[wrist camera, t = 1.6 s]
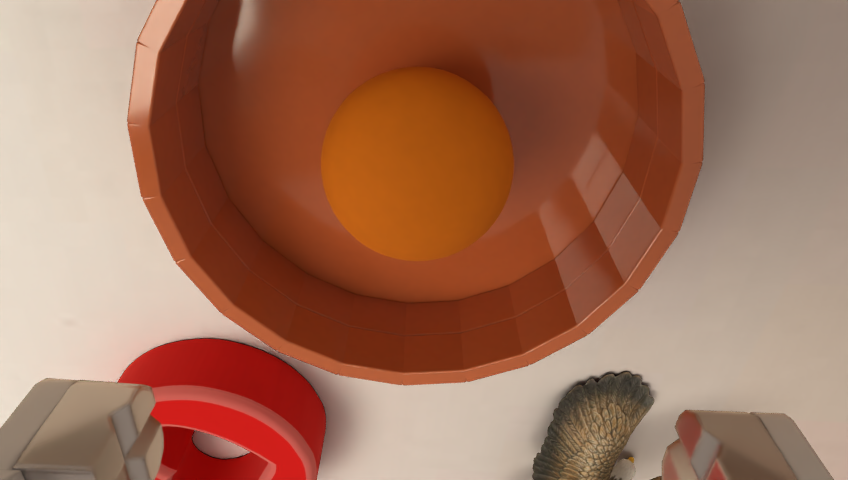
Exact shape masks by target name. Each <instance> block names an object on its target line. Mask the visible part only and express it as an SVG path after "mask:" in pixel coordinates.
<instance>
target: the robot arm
mask: <svg viewBox="0 0 848 480" xmlns="http://www.w3.org/2000/svg"><path fill="white" fill-rule="evenodd" d="M155 404H156V401H155V397H154V394H153V390H152V387H150V386H147V385H144V384H130V383H116V382H103V381H89V380H67V379H53V378H46V379H44V380H42V381H40V382H39V383H37V384H35V385H34V387H33V388H32V389H31V390H30V392H29V393H28V394H27V395H26V397H25V398H24V399H23V400H22V402H21V403H20V404H19V405H18V407H17V408H16V409H15V411H14V412H13V413H12V414H11V416H10V417H9V418H8V419H7V421H6V422H5V423H4V424H3V426H2V427H1V428H0V480H155V478H156V475H157V473H158V471H159V468H160V464H161V459H162V455H163V450H164V435H163V430H162V425H161V423H160V422H159V421H158V420H156V419H155V418H154V417H153V416H152V415H151V414H150V413H151V412H152V410H153V408H154V406H155ZM675 429H676V431H677V434H678V436H679V439H677V440H676V441H675V442H673V443H672V444H670V445H669V446H668V447H667V448H666V451H665V454H664V457H663V460H662V480H834V479H833V478H832V476H831V475H830V473H829V472H828V470H827V469H826V467H825V466H824V464H823V463H822V462H821V460H820V459H819V457H818V456H817V454H816V453H815V451H814V450H813V448H812V447H811V445H810V444H809V443H808V441H807V440H806V438H805V437H804V435H803V434H802V432H801V431H800V429H799V428H798V426H797V425H796V423H795V422H794V421H793V420H792V419H791V418H790V417H788V416H787V415H786V414H782V413H756V412H751V413H747V412H731V411H704V410H685V411H684V412H683V413H682V414H680V415H679V418H678V420H677V422H676V425H675Z"/></svg>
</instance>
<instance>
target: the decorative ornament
mask: <svg viewBox="0 0 848 480" xmlns="http://www.w3.org/2000/svg"><path fill="white" fill-rule="evenodd" d="M117 383H130V384H144V385H147V386H150V387H152V390H153V394H154V397H155V401H156V404H155V406H154V408H153V410H152V412H151V413H150V414H151V415H152V416H153V417H154V418H155V419H156V420H158V421H159V422H160V423H161V425H162V430H163V435H164V450H163V455H162V459H161V464H160V468H159V471H158V473H157V475H156V478H155V480H317V475H318V469H319V464H320V458H321V453H322V447H323V442H324V436H325V430H326V416H325V410H324V407H323V404H322V402H321V400H320V399H319V397H318V396H317V394H316V392H315V391H314V389H313V388H312V386H311V385H310V384H309V383H308V382H307V380H306V379H305V378H304V377H303V376H301V375H300V374H299V373H298V372H297V371H296V370H295V369H293V368H292V367H291V366H289V365H288V364H286V363H285V362H283V361H282V360H280V359H278V358H276V357H274V356H273V355H271V354H269V353H266V352H264V351H262V350H259V349H256V348H254V347H250V346H247V345H244V344H240V343H236V342H231V341H226V340H219V339H191V340H183V341H178V342H173V343H169V344H165V345H162V346H159V347H157V348H154V349H152V350H150V351H148V352H146V353H144V354H143V355H141V356H140V357H138V358H137V359H136V360H135V361H134V362H132V363H131V364H130V365H129V366H128V367H127V369H126V370H125V371H124V373H123V374H122V376H121V377H120V379H119V381H118V382H117ZM194 430H197V431H201V432H204V433H208V434H211V435H214V436H217V437H219V438H222V439H225V440H227V441H229V442H232V443H234V444H236V445H238V446H240V447H242V448H244V449H246V450H248V451H250V453H249V454H247V455H245V456H242V457H239V458H235V459H225V460H224V459H216V458H212V457H210V456H207V455H205V454H203V453H202V452H200V451H199V450H198V449H197V448H196V447H195V445H194V444H193V442H192V435H193V433H194Z"/></svg>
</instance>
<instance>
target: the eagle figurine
mask: <svg viewBox="0 0 848 480" xmlns="http://www.w3.org/2000/svg"><path fill="white" fill-rule="evenodd" d="M641 382H642V380H641V377H640V376H638V375H635V376H631V374H630V373H629V372H623V373H621V374H619V375H618V376H614V374H608V375H605V376H604V377H602V378H601V379H600V380H599V382H598V383H596V382H595V381H594V379H589V380H588V381H587V383H586V384H585V385H584V386H582V385H577V386H575V387H574V388H573V389H572V390H571V391H570V392H569V393H568V394H567V397H565V398H563V399H562V400H561V401H560V403H559V407H558V408H557V409H555V410H554V413H553V416H554V420H553V421H552V422H551V424H550V426H549V427H548V437H546V438H545V440H544V444H543V445H542V447H541V453H537V457H536V458H534V464H533V470H534V473H533V479H534V480H631V479H632V477H633V476H634V474H635V472H636V468H635V466H634V464H633V462H634V458H633V457H629V458H628V459H622V460H620V461H619V462H618V463H617V464H616V465H615V466H614V464H615V462H616V460H617V458H618V456H619V455H620V453H621V452H622V450H623V448H624V447H625V445H626V443H627V441H628V439H629V437H630V435H631V433H632V432H633V431H634V429H635V427H636V426H637V425H638V424H639V422H640V421H641V420H642V418H643V417H644V416H645V415H646V413H647V412H648V411H649V409H650V408H651V406H652V405H653V403H654V398H653V397H651V396H649V387H648V386H646V385H641ZM651 480H662V476H659V477H656V478H653V479H651Z"/></svg>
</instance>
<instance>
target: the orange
mask: <svg viewBox="0 0 848 480" xmlns="http://www.w3.org/2000/svg"><path fill="white" fill-rule="evenodd" d="M513 173H514V156H513V148H512V142H511V139H510V135H509V132H508V129H507V127H506V125H505V122H504V120H503V118H502V116H501V115H500V113H499V112H498V110H497V108H496V107H495V105H494V104H493V103H492V102H491V101H490V99H489V98H488V97H487V96H486V95H485V94H484V93H483V92H482V91H481V90H479V89H478V88H477V87H475V86H474V85H473V84H471V83H470V82H468V81H467V80H465V79H463V78H461V77H459V76H458V75H456V74H453V73H450V72H447V71H445V70H441V69H436V68H431V67H419V66H417V67H404V68H398V69H393V70H390V71H387V72H384V73H381V74H379V75H377V76H375V77H373V78H371V79H369V80H368V81H366V82H365V83H363V84H362V85H360V86H359V87H357V88H356V89H355V90H354V91H353V92H352V93H351V94H349V95H348V96H347V98H346V99H345V100H344V101H343V102H342V104H341V105H340V106H339V108H338V109H337V111H336V113H335V114H334V116H333V117H332V119H331V121H330V124H329V126H328V128H327V130H326V134H325V137H324V141H323V146H322V153H321V175H322V182H323V187H324V191H325V194H326V197H327V199H328V202H329V204H330V206H331V208H332V210H333V212H334V214H335V215H336V217H337V219H338V220H339V222H340V223H341V224H342V225H343V226H344V228H345V229H346V230H347V231H348V232H349V233H350V234H351V235H352V236H353V237H354V238H355V239H357V240H358V241H359V242H361V243H362V244H363V245H365V246H366V247H368V248H370V249H371V250H373V251H375V252H377V253H380V254H382V255H384V256H388V257H391V258H395V259H400V260H405V261H429V260H436V259H440V258H444V257H448V256H450V255H453V254H455V253H458V252H460V251H462V250H463V249H465V248H467V247H469V246H470V245H472V244H473V243H474V242H476V241H477V240H478V239H479V238H480V237H482V236H483V235H484V234H485V233H486V232H487V231H488V230H489V229H490V228H491V226H492V225H493V224H494V223H495V221H496V220H497V218H498V217H499V215H500V214H501V212H502V210H503V208H504V206H505V204H506V201H507V199H508V196H509V193H510V190H511V185H512V179H513Z"/></svg>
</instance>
